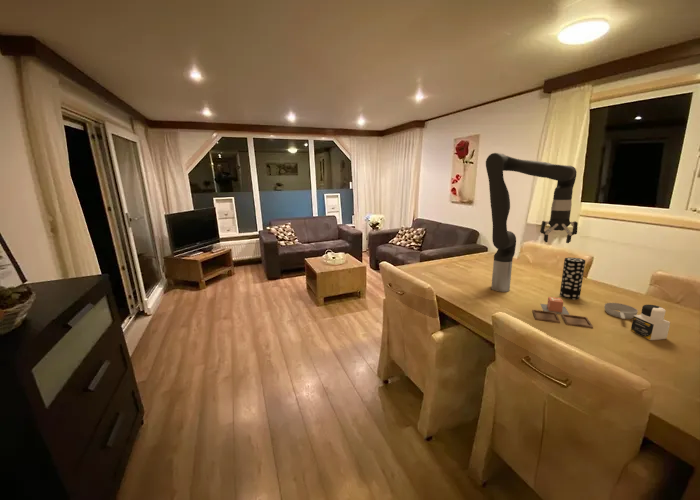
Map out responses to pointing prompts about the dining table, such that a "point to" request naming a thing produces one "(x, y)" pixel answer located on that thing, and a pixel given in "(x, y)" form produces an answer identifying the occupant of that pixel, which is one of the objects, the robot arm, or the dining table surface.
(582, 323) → the tray
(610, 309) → the saucepan
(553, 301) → the letter block
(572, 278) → the white-spotted black cylinder
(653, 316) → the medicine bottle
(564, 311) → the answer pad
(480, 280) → the dining table surface
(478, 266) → the dining table surface
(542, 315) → the tray
